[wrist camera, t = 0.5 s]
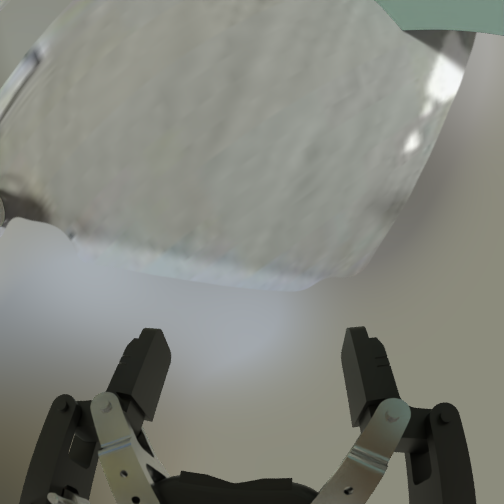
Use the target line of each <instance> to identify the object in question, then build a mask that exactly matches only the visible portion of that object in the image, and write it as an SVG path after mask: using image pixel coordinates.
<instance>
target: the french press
mask: <svg viewBox="0 0 504 504" xmlns="http://www.w3.org/2000/svg"><path fill="white" fill-rule="evenodd" d="M4 219H5V210H4V206H3V202H2V200H1V198H0V226H2V224H3V222H4Z"/></svg>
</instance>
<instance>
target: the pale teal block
mask: <svg viewBox="0 0 504 504" xmlns="http://www.w3.org/2000/svg"><path fill="white" fill-rule="evenodd" d="M375 1H376V2H377V3H378V4H379V5H380V6H381V7H382V8H383V9H384V10H385V11H386V12H387V13H388V15H389V16H390V17H391V18H392V19H393V20H394V21H395V22H396V24H397V25H398V26H399V27H400V28H401V29H402V30H459V31H472V32H481V33H489V34H496V35H502V36H504V0H375Z"/></svg>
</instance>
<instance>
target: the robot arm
mask: <svg viewBox="0 0 504 504" xmlns="http://www.w3.org/2000/svg"><path fill="white" fill-rule="evenodd" d="M341 361H342V368H343V372H344V378H345V384H346V390H347V396H348V402H349V408H350V414H351V421H352V427H358V426H360V430H361V435H360V436H359V438H358V439H357V441H356V443H355V444H354V445H353V447H352V448H351V450H350V451H349V453H348V454H347V456H346V457H345V458H344V460H343V461H342V463H341V464H340V465H339V467H338V468H337V469H336V471H335V472H334V473H333V475H332V476H331V477H330V479H329V480H328V481H327V482H326V484H325V485H324V486H323V487H322V489H321V490H320V491H319V492H316V491H315V490H313V489H312V488H310V487H307V486H305V485H302V484H298V483H293V482H292V478H282V479H281V478H280V479H259V480H255V481H248V482H242V483H230V482H227V481H224V480H221V479H218V478H215V477H212V476H209V475H205V474H199V473H192V472H186V471H181V474H180V475H179V476H173V477H170V476H169V474H168V472H167V471H166V469H165V468H164V466H163V465H162V464H161V463H160V461H159V460H158V458H157V456H156V454H155V452H154V450H153V448H152V446H151V444H150V442H149V439H148V437H147V435H146V433H145V431H144V428H143V427H142V424H143V421H144V420H147V421H153V418H154V414H155V411H156V407H157V404H158V401H159V398H160V394H161V391H162V388H163V385H164V381H165V378H166V375H167V372H168V369H169V365H170V363H171V352H170V349H169V347H168V344H167V342H166V339H165V337H164V334H163V332H162V330H161V329H153V328H144V329H143V330H142V332H141V334H140V336H139V339H137V338H134V339H133V340H132V341H131V342H130V343H129V344H128V345H127V347H126V349H125V351H124V353H123V357H121V360H120V362H119V364H118V366H117V368H116V371H115V373H114V375H113V377H112V379H111V382H110V384H109V386H108V388H107V390H106V392H102V393H100V394H98V395H96V396H95V397H94V399H93V400H89V401H75V399H74V398H73V397H72V396H70V395H67V394H63V395H60V396H58V397H57V398H56V399H55V400H54V401H53V403H52V406H51V408H50V410H49V413H48V415H47V418H46V420H45V423H44V425H43V428H42V431H41V433H40V436H39V439H38V441H37V444H36V447H35V450H34V453H33V456H32V459H31V462H30V466H29V469H28V472H27V476H26V479H25V483H24V486H23V490H22V494H21V498H20V503H19V504H90V502H89V496H90V491H91V487H92V482H93V478H94V474H95V470H96V466H97V462H98V458H99V459H100V462H101V465H102V468H103V470H104V473H105V476H106V479H107V481H108V484H109V486H110V489H111V491H112V493H113V496H114V498H115V500H116V502H117V504H365V503H366V501H367V500H368V499H369V497H370V495H371V494H372V493H373V491H374V490H375V488H376V487H377V485H378V483H379V482H380V480H381V479H382V477H383V475H384V473H385V471H386V470H387V467H388V466H387V464H388V461H389V460H390V458H391V456H392V454H393V452H404V453H405V459H406V467H407V476H408V489H409V504H476V496H475V488H474V481H473V474H472V468H471V463H470V457H469V452H468V448H467V443H466V439H465V435H464V430H463V427H462V422H461V419H460V415H459V412H458V410H457V409H456V407H455V406H453V405H452V404H450V403H440V404H438V405H436V406H435V407H434V408H433V409H421V408H413V407H410V406H408V405H407V403H406V402H404V401H403V400H402V399H401V398H400V396H399V393H398V390H397V386H396V383H395V379H394V376H393V373H392V370H391V366H390V363H389V360H388V358H387V354H386V351H385V348H384V346H383V344H382V343H381V342H380V341H379V340H378V339H377V338H376V337H375V338H369V337H368V334H367V331H366V328H365V327H364V326H363V327H351V328H347V329H346V334H345V338H344V343H343V347H342V352H341ZM74 434H75V436H74ZM73 436H74V439H73ZM72 439H73V442H72ZM71 442H72V445H71ZM70 445H71V448H70ZM69 449H70V452H69Z"/></svg>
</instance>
